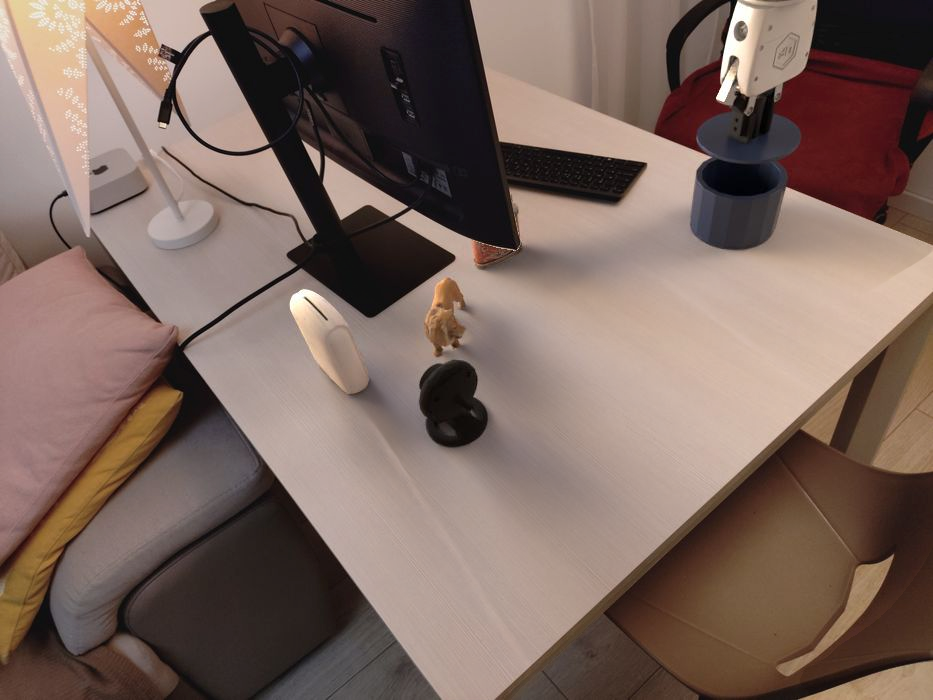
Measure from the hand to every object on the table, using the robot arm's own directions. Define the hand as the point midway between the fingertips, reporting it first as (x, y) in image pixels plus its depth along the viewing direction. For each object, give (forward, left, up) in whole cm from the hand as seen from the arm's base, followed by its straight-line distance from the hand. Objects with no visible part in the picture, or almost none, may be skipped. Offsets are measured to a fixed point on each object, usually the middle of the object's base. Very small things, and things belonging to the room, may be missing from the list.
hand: (748, 133), depth 82 cm
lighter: (+17, +30, -15) cm, 37 cm away
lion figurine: (+7, +44, -15) cm, 47 cm away
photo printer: (+11, +59, -15) cm, 62 cm away
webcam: (-6, +51, -15) cm, 53 cm away
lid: (0, 0, -1) cm, 1 cm away
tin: (0, 0, -15) cm, 15 cm away
